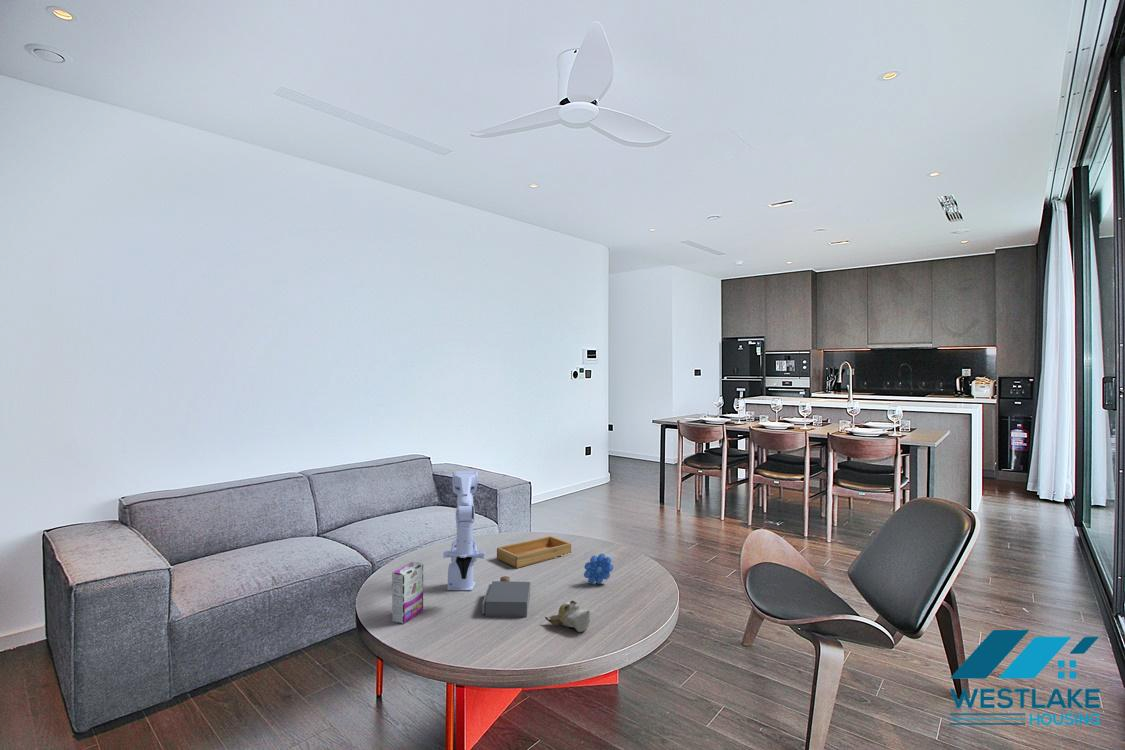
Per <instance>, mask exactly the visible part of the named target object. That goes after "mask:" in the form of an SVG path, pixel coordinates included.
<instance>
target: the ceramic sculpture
mask: <svg viewBox="0 0 1125 750" xmlns="http://www.w3.org/2000/svg"><path fill="white" fill-rule="evenodd" d="M544 619H545V620H546V621H547V622H549V623H551V624H552V625H554V626H564V627H568V628H574V629H575V630H576V631H577V632H578V633H582V632H585V631H586V630H587V629H588V628H589V625H590V622H591V612H590V610H589V609H582V608H581V607H580V605H579V603H578V602H576V601H575V600H571V601H569V602H568V601H567V602H565V603H563V604H562V605H561V606H559V609H558V613H557V614H555V615H551V616H545V617H544Z"/></svg>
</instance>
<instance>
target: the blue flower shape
mask: <svg viewBox="0 0 1125 750" xmlns="http://www.w3.org/2000/svg"><path fill="white" fill-rule="evenodd" d="M584 570H585V571H584V572H583V577H584V578H585V579H587V582H588V583H589V584H592V585H593V584H595V583H596V584H597V585H601V584H602V583H603V581H605V580H606V581H607V580H608V579H610V577H611V573H610V572H612V571H613V570H614V565H613V564H612V558H611V556H606V554H604V553H599V554H598V556H597V555H592V556H591V557H590V558H589V561H588V562H586V563H585V564H584Z"/></svg>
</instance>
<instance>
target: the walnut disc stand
mask: <svg viewBox="0 0 1125 750" xmlns="http://www.w3.org/2000/svg"><path fill="white" fill-rule="evenodd" d="M499 579H500V580H499V581H509V582H511V578H510V577H509V576H507V575H504V576H501V577H500V578H499Z"/></svg>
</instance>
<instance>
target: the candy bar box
mask: <svg viewBox="0 0 1125 750" xmlns="http://www.w3.org/2000/svg"><path fill="white" fill-rule="evenodd" d="M391 581H392V582H391V590H392V591H391V594H392V595H391V597H392V600H391V601H392V602H391V603H392V604H391V605H392V606H391V607H392V608H391V611H392V614H391V618H392V620H391V622H393V623H397V624H401V625H404V624H406V623H407V622H409V621H410V620H411V619H413V618H414V617H416V616H417V615H418V614H421V612H423V611H424V563H421V562H415V561H412V562H409V563H407V564H406V565H404V566H402V567H400V568H398V569H397V570H395V571H393V572H392V574H391Z"/></svg>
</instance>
